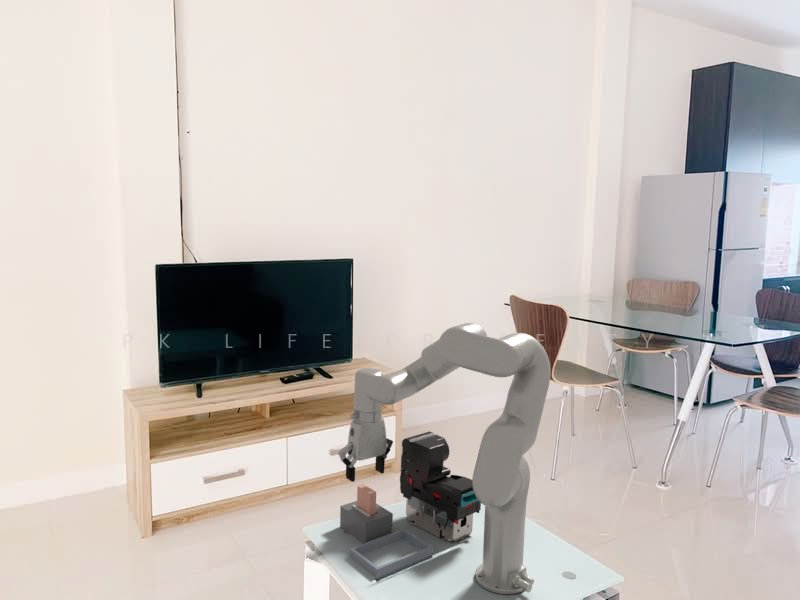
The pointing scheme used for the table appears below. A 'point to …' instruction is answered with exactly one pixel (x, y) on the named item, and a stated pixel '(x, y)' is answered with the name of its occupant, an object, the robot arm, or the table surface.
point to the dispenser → (365, 522)
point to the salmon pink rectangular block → (366, 499)
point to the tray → (396, 564)
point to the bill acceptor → (436, 489)
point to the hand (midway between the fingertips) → (365, 475)
